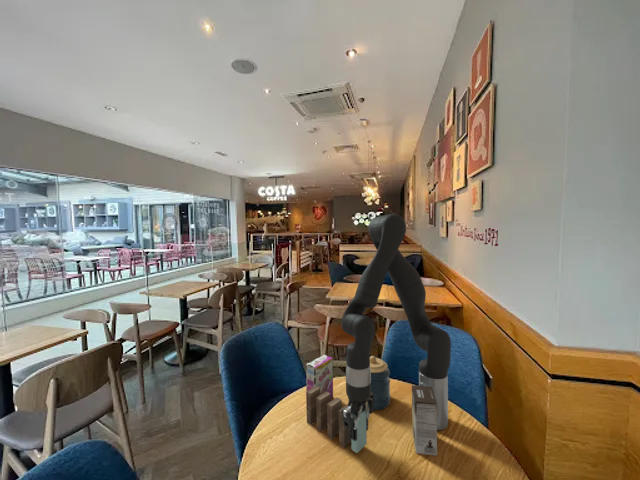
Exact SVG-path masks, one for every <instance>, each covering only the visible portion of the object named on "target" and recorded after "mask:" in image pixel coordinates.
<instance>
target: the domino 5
mask: <svg viewBox="0 0 640 480" xmlns="http://www.w3.org/2000/svg"><path fill="white" fill-rule="evenodd" d="M351 414H352V416H354V417H356V416H357V415H355V414H353V413H351ZM352 423H354V420H353V419H352ZM367 431H368V430H367ZM367 431H366V413H365V411H364V412H362V413H361V415H360V420H359V421H358V423H357V440H356V441H354V440H352V439H351V443H350V444H351V446H350V447H351V448H350V449H351V450H352V451H353V452H354V453H356V454H358V453H359V452H360V451H361V450H362V449H363V448H364V447H365V446H366V445H367V441H368V438H367Z"/></svg>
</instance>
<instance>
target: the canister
mask: <svg viewBox="0 0 640 480" xmlns="http://www.w3.org/2000/svg"><path fill="white" fill-rule="evenodd" d="M388 367H389V366H388V364H387V362H385V361H384V360H382V358H378V357H376V356H375V355H370V370H371V392H372V393H373V394H375V396H374V405H373V411H378V410H384V409H386V408H387V407H388V406H389V405H390V401H391V393H390V392H391V389H390V387H391V386H390V385H391V379H390V375H391V372H390V369H389V368H388ZM368 407H369V408H370V405H369V404H368Z"/></svg>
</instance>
